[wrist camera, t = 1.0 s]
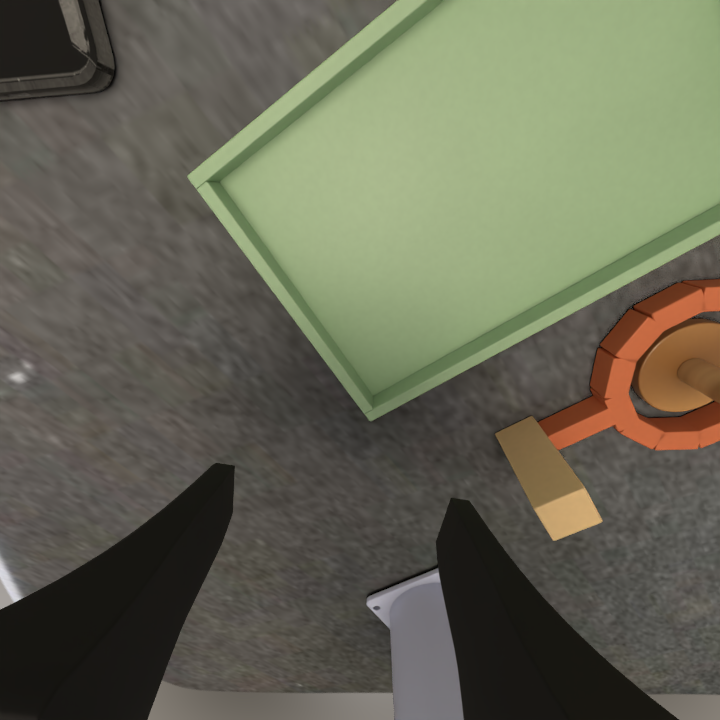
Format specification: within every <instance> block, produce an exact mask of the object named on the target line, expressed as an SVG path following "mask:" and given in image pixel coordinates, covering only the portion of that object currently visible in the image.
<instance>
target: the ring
mask: <svg viewBox="0 0 720 720" xmlns="http://www.w3.org/2000/svg"><path fill="white" fill-rule="evenodd" d="M633 307H634V310H632V309H629V310H628V311H627V312H626V314H625V315H624V316H623V317H622V318H621V320H620V321H619V322H618V323H617V324H616V326H615V327H614V328H613V329H612V330H611V332H610V333H609V334H608V335H607V337H606V338H605V339H604V340H603V341H602V343H601V344H600V346H601V347H603V348H598V349H597V354H596V358H595V363H594V368H593V372H592V377H591V382H590V386H591V387H592V388H590V390H591V392H592V394H593V396H592V397H589V398H587V399H585V400H583V401H581V402H579V403H577V404H575V405H573V406H571V407H568V408H566V409H564V410H562V411H560V412H558V413H556V414H554V415H552V416H550V417H547V418H545V419H543V420H541V421H539V422H537V421H536V420H535V418H534V417H533V416H530V417H528V418H526V419H524V420H522V421H520V422H518V423H516V424H514V425H512V426H510V427H507V428H505V429H503V430H501V431H499V432H497V433H495V435H496V437H497V439H498V441H499V443H500V445H501V447H502V449H503V451H504V453H505V455H506V457H507V459H508V461H509V462H510V464H511V466H512V468H513V470H514V472H515V474H516V476H517V478H518V480H519V482H520V484H521V486H522V488H523V490H524V491H525V493H526V495H527V497H528V499H529V501H530V503H531V505H532V507H533V509H534V511H535V512H536V514H537V515H538V517H539V519H540V520H541V522H542V523H543V525H544V527H545V528H546V530H547V532H548V533H549V535H550V536H551V538H552V540H554V541H555V540H558V539H561V538H563V537H566V536H568V535H571V534H573V533H576V532H578V531H581V530H583V529H586V528H588V527H591V526H594V525H596V524H599V523H601V522H602V519H601V517H600V515H599V513H598V511H597V509H596V507H595V505H594V503H593V502H592V500H591V498H590V496H589V494H588V492H587V490H586V488H585V487H584V486H583V484H582V483H581V481H580V480H579V479H578V477H577V476H576V475H575V473H574V472H573V470H572V469H571V468H570V466H569V465H568V464H567V462H566V461H565V460H564V458H563V457H562V455H561V454H560V453H559V451H558V450H560V449H562V448H564V447H567V446H569V445H571V444H573V443H576V442H578V441H580V440H582V439H584V438H587V437H589V436H591V435H593V434H595V433H598V432H600V431H602V430H604V429H606V428H609V427H611V426H613V427H614V428H615V429H616V430H617V431H618V432H619V433H620V434H622V435H624V436H626V437H628V438H630V439H632V440H634V441H636V442H638V443H640V444H642V445H644V446H646V447H648V448H650V449H655V450H680V449H698V446H699V447H700V448H703V447H705V446H707V445H710V444H712V443H715V442H717V441H720V404H719V403H717V402H716V401H714V402H713V403H711V404H708V405H706V406H704V407H702V408H699V409H697V410H695V411H692V412H690V413H688V414H686V415H683V416H681V417H666V418H646V417H644V416H642V415H640V414H638V413H637V412H636V411H635V408H634V406H633V404H632V401H631V399H630V397H629V394H628V393H629V389H630V385H631V382H632V378H633V374H634V370H635V366H636V362H637V361H638V359H639V358H640V357H641V356H642V355H643V354H644V353H645V352H646V350H647V349H648V348H649V347H650V346H651V345H652V344H653V343H654V341H655V340H656V339H657V338H658V337H659V336H660V335H661V334H662V332H663V331H665V330H667V329H669V328H671V327H673V326H675V325H677V324H679V323H681V322H683V321H685V320H687V319H689V318H691V317H693V316H695V315H697V314H699V313H701V312H708V311H720V279H711V280H689V281H683V282H682V283H676V284H674V285H672V286H670V287H669V288H667V289H665V290H663V291H661V292H659V293H657V294H655V295H653V296H651V297H649V298H647V299H646V300H644V301H642V302H640V303H638V304H636V305H634V306H633Z"/></svg>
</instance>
